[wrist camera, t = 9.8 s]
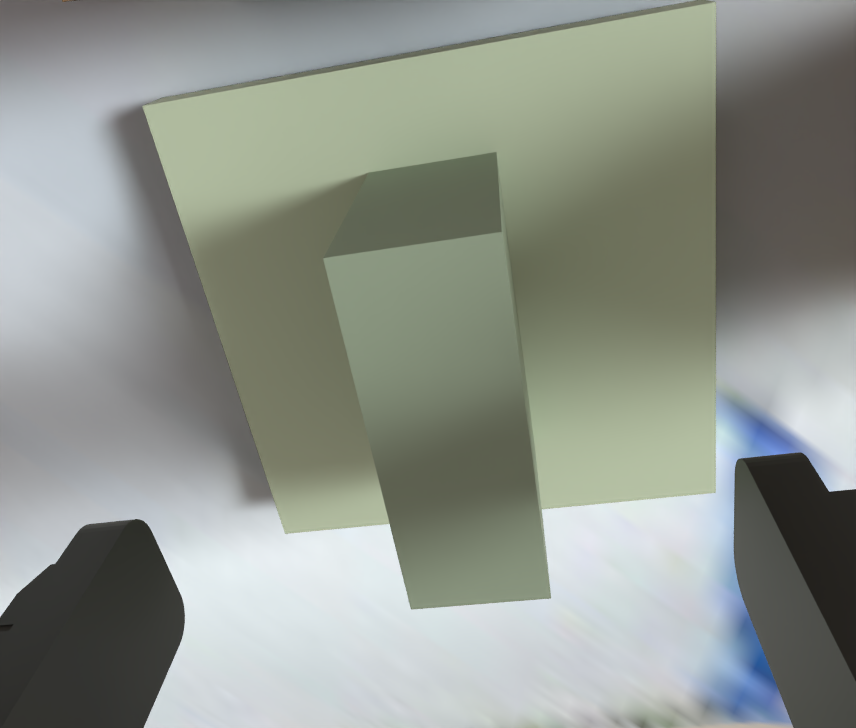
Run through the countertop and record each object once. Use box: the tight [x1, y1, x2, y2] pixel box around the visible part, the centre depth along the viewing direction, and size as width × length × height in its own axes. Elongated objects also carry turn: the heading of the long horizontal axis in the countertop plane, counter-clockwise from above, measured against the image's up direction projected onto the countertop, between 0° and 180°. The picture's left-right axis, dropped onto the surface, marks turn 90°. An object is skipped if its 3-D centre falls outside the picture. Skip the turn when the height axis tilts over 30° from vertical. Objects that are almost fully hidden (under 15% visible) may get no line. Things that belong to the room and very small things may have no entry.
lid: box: [142, 0, 716, 609], centre depth 15 cm, size 11×11×7 cm
